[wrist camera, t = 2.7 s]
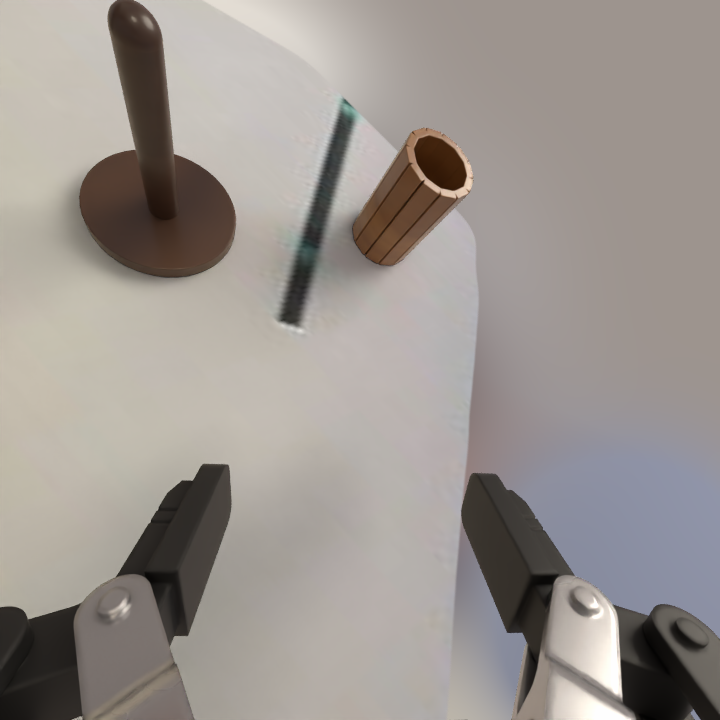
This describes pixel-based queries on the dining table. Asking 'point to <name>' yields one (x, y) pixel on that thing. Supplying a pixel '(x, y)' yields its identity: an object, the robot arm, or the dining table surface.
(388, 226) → the wooden stave pot
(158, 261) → the peg stand
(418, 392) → the dining table surface
